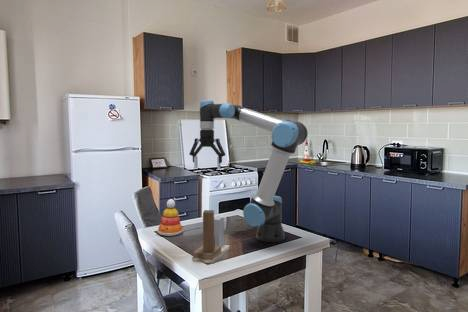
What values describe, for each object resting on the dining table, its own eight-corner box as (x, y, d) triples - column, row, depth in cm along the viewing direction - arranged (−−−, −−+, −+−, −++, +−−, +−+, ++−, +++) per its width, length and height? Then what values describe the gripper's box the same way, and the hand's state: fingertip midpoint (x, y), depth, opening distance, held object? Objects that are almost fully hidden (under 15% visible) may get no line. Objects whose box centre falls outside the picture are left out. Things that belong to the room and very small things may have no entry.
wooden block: (205, 245, 163) (205, 207, 162) (214, 245, 163) (214, 207, 162) (203, 252, 154) (202, 212, 153) (213, 252, 154) (213, 212, 153)
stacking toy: (152, 234, 195) (151, 199, 194) (171, 228, 207) (170, 195, 205) (169, 238, 187) (169, 202, 185) (188, 232, 198) (188, 198, 197)
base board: (229, 248, 172) (229, 240, 171) (213, 263, 152) (213, 254, 152) (210, 246, 175) (210, 238, 175) (192, 260, 155) (192, 252, 155)
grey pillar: (223, 245, 172) (223, 216, 171) (219, 248, 166) (218, 219, 165) (216, 244, 173) (215, 216, 172) (211, 248, 168) (211, 219, 167)
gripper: (231, 129, 188) (231, 168, 190) (189, 129, 197) (189, 167, 198) (226, 129, 181) (226, 170, 183) (183, 129, 190) (183, 168, 191)
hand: (207, 168), depth 191 cm, fingers open, 13 cm apart
